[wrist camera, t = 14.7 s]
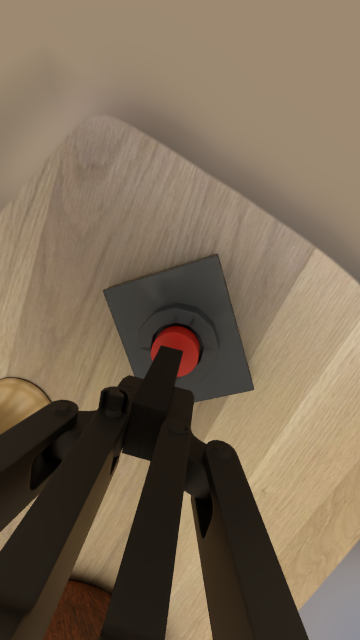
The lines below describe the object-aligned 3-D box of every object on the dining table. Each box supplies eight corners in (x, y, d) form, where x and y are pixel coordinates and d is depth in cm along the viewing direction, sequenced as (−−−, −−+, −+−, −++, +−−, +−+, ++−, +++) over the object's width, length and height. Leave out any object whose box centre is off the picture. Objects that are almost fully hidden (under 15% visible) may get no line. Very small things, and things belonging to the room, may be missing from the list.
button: (149, 332, 23) (144, 339, 21) (192, 320, 22) (190, 326, 20) (163, 371, 23) (159, 381, 22) (205, 361, 23) (204, 371, 21)
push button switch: (111, 286, 26) (93, 294, 22) (217, 253, 24) (218, 255, 20) (152, 399, 28) (143, 424, 25) (251, 378, 26) (257, 401, 23)
